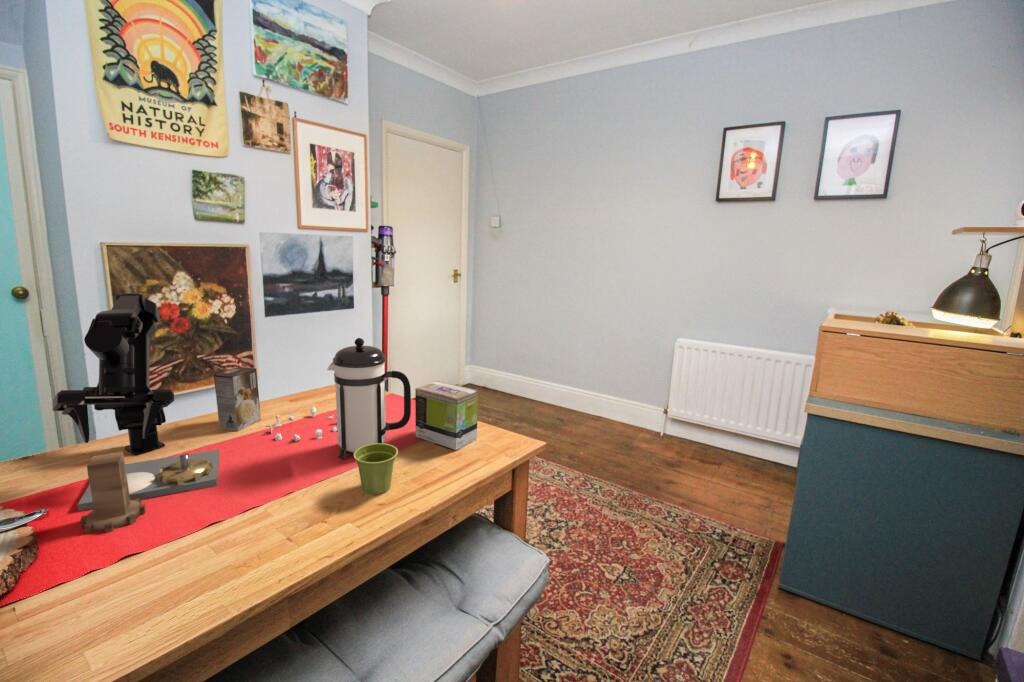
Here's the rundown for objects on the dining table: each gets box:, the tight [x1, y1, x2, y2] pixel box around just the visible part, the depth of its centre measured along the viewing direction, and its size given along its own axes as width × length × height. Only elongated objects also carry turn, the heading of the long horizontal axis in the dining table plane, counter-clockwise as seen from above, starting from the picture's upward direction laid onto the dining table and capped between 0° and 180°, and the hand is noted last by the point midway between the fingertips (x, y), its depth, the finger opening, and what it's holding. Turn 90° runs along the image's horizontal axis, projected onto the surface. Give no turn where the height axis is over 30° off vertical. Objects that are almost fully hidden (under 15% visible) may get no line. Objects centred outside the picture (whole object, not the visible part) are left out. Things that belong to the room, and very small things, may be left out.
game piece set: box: [269, 406, 337, 442], centre depth 134 cm, size 19×20×4 cm
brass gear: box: [157, 453, 213, 486], centre depth 103 cm, size 10×10×4 cm
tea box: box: [414, 380, 479, 451], centre depth 130 cm, size 15×10×15 cm, turn 58°
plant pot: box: [353, 442, 399, 495], centre depth 103 cm, size 9×9×9 cm
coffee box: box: [213, 366, 262, 432], centre depth 133 cm, size 9×6×16 cm
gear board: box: [77, 449, 221, 512], centre depth 104 cm, size 16×23×2 cm
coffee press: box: [326, 337, 412, 460], centre depth 120 cm, size 17×16×30 cm
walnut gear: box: [80, 451, 147, 534], centre depth 88 cm, size 9×9×12 cm
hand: (116, 440), depth 95 cm, fingers open, 9 cm apart
